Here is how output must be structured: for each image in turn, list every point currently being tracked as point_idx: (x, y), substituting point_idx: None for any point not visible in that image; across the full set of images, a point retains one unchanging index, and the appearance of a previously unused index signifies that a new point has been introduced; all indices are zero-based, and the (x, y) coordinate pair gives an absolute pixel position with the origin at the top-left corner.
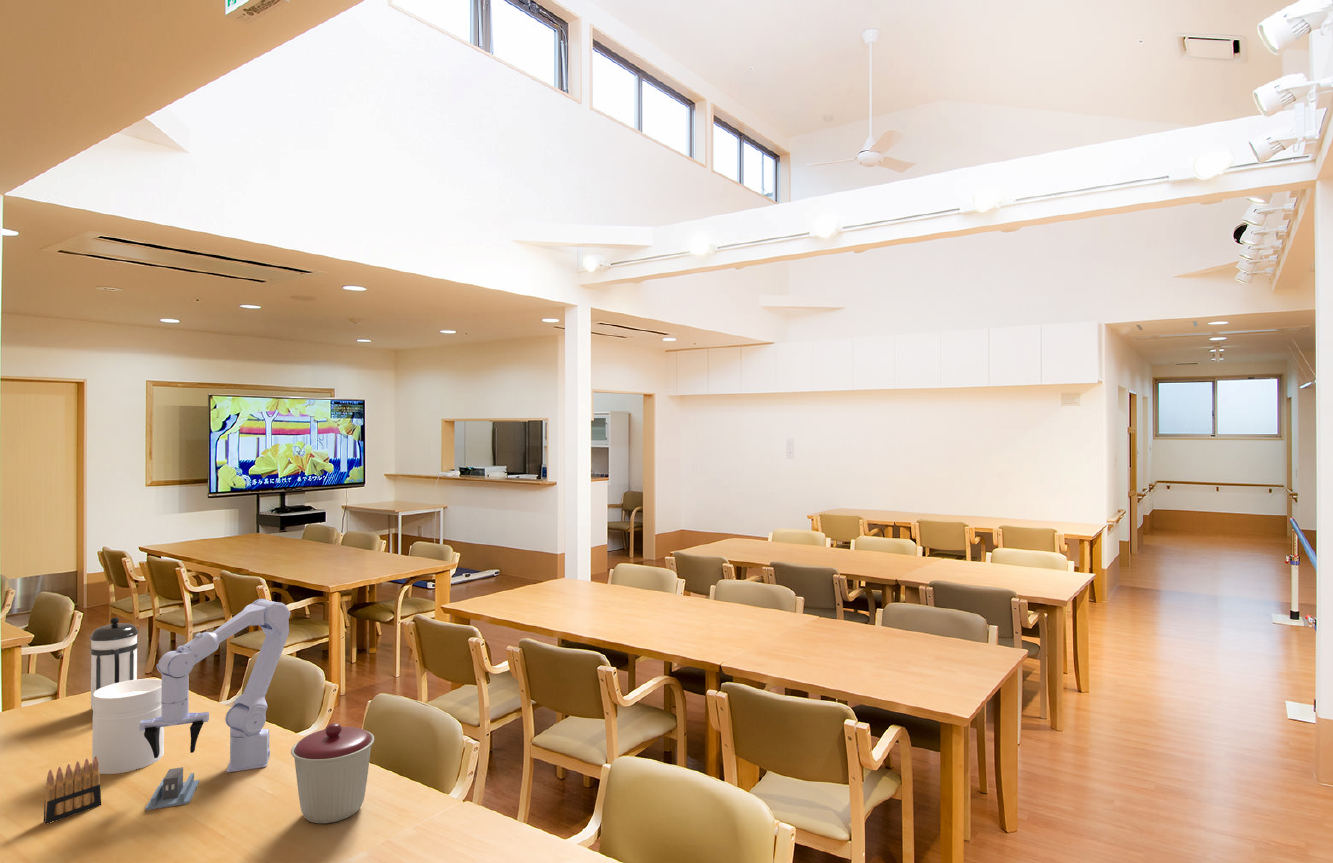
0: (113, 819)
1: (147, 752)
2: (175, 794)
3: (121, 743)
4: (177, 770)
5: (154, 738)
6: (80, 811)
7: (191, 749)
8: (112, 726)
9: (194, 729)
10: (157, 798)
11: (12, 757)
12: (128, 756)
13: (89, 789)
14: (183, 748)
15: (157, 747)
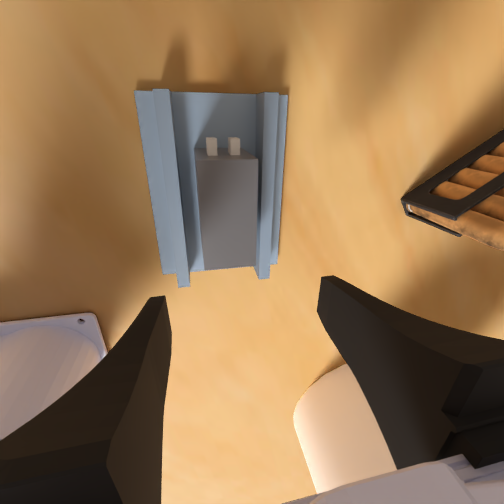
0: (372, 64)
1: (332, 410)
2: (201, 149)
3: None
4: (219, 243)
5: (422, 340)
6: (447, 169)
7: (154, 305)
8: None
9: (63, 438)
10: (259, 130)
11: None
12: None
13: (480, 197)
14: (259, 440)
15: (348, 320)
